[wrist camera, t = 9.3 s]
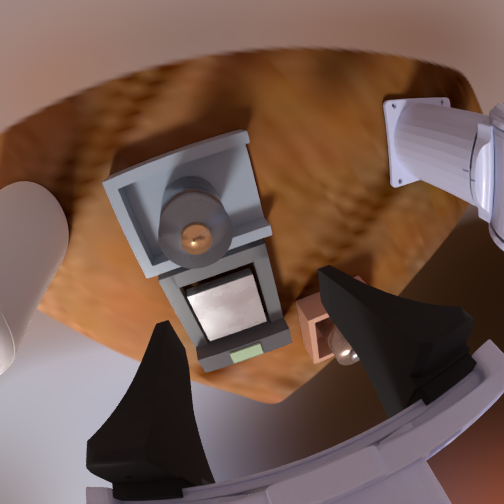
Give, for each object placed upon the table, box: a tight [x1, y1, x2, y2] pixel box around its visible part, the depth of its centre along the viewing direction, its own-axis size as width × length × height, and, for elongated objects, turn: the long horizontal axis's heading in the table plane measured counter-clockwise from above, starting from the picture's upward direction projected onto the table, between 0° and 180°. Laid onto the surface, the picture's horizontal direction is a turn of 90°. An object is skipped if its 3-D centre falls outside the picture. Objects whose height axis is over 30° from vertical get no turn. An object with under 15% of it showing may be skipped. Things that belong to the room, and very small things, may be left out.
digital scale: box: [158, 239, 292, 372], centre depth 23 cm, size 10×8×3 cm
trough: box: [103, 129, 272, 279], centre depth 19 cm, size 10×8×2 cm
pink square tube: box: [296, 275, 366, 364], centre depth 28 cm, size 7×7×3 cm
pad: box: [187, 268, 267, 341], centre depth 23 cm, size 5×5×1 cm
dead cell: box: [315, 317, 360, 365], centre depth 26 cm, size 4×4×6 cm
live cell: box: [158, 176, 233, 269], centre depth 17 cm, size 4×4×6 cm
